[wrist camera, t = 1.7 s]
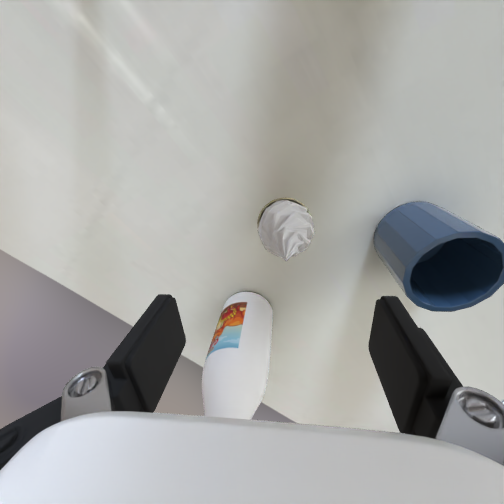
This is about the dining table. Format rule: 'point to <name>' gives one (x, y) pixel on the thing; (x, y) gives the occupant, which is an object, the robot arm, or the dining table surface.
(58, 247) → the dining table surface
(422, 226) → the tumbler
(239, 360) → the milk bottle
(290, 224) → the ice cream cone
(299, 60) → the dining table surface
